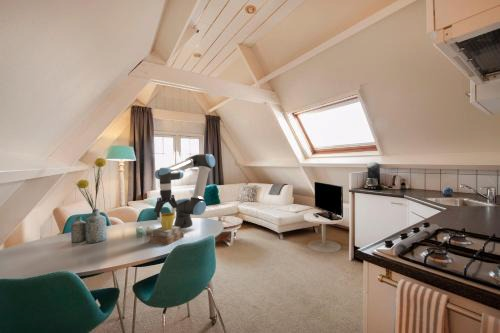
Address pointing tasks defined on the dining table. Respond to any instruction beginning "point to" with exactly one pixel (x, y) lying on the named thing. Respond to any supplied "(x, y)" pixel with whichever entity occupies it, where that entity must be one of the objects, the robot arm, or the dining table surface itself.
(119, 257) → the dining table surface
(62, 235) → the dining table surface
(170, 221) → the plant pot
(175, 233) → the tower plinth
